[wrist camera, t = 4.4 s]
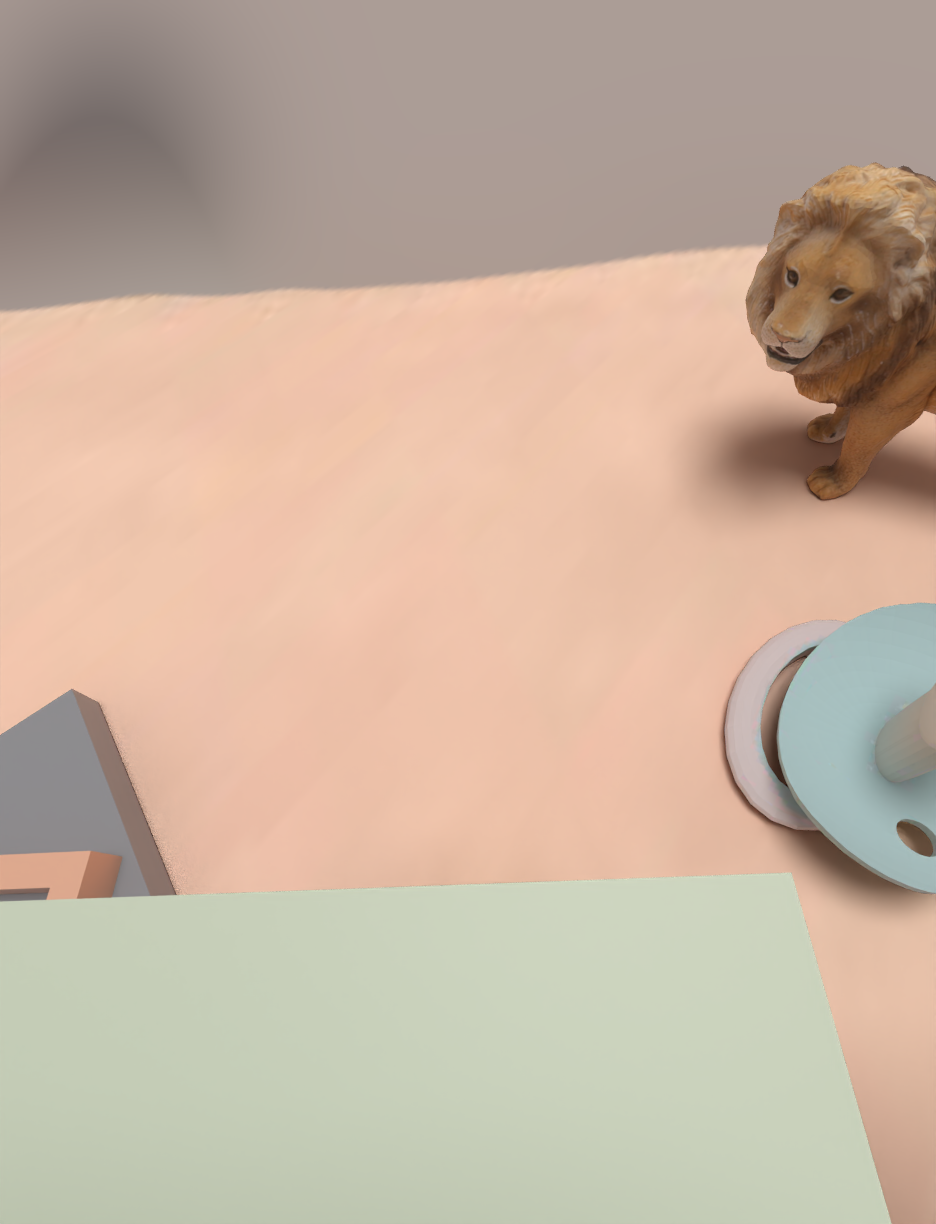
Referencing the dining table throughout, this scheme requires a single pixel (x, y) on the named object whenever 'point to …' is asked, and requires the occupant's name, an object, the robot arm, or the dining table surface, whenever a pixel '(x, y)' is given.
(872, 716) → the pacifier
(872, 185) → the lion figurine
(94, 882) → the collar
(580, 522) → the dining table surface
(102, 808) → the baseplate
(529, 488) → the dining table surface
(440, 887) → the pillar
